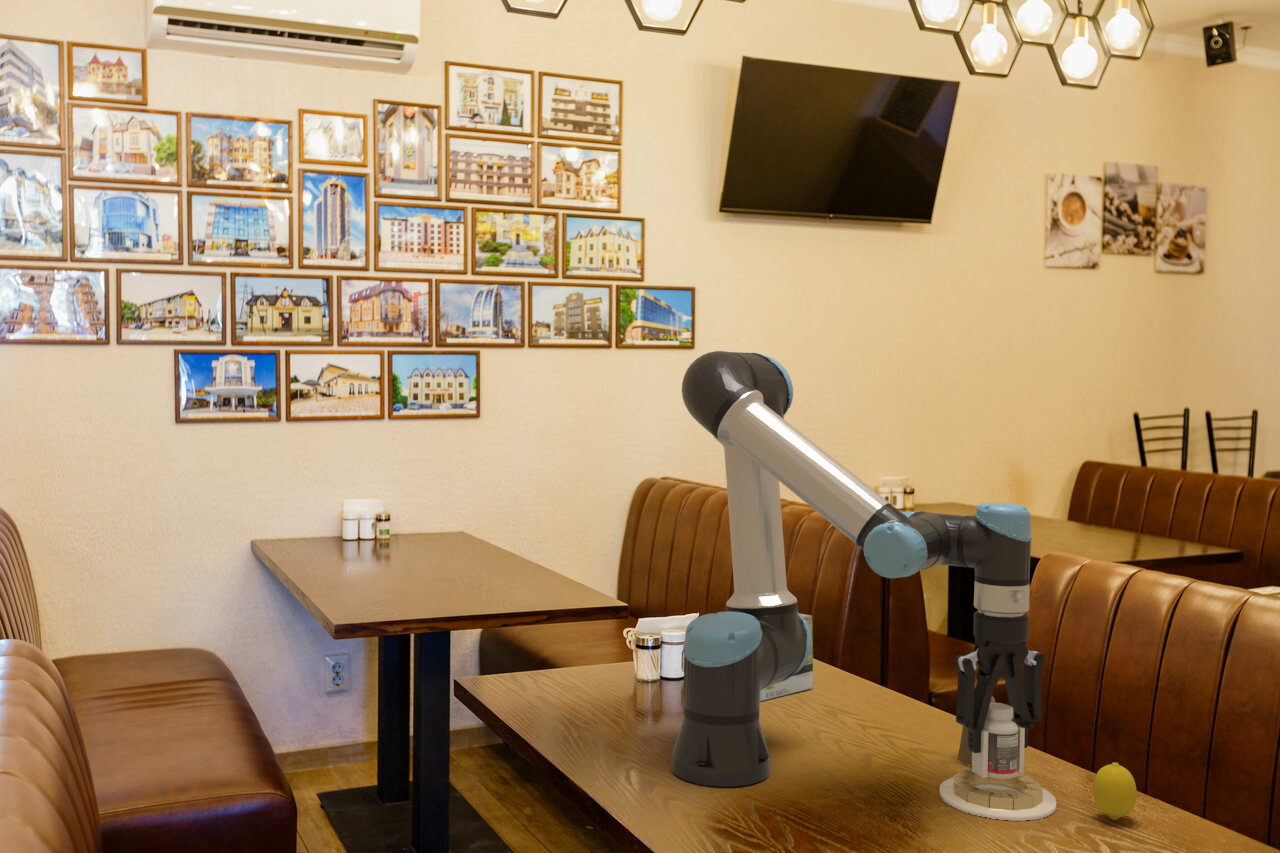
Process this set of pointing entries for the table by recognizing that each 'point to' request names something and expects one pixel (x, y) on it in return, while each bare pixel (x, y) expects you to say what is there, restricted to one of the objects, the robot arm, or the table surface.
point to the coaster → (1013, 815)
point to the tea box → (798, 680)
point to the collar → (1007, 801)
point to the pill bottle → (1001, 741)
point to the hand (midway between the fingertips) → (997, 771)
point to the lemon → (1114, 791)
